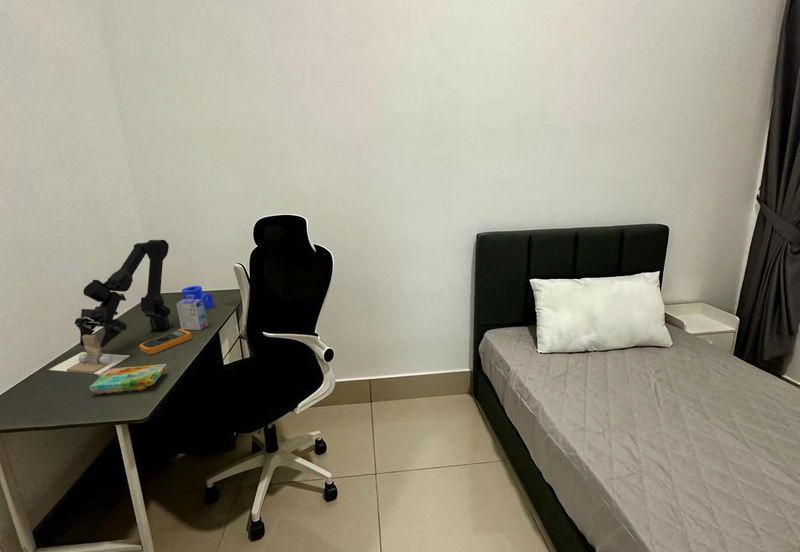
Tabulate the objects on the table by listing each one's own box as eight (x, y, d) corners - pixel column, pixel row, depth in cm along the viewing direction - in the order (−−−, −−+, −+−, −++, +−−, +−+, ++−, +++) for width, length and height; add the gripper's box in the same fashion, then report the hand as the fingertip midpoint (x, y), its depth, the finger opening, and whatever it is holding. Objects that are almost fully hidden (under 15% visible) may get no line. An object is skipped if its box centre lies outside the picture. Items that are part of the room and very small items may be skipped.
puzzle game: (106, 367, 161) (166, 361, 162) (110, 379, 162) (169, 373, 164) (88, 384, 150) (151, 378, 151) (91, 397, 151) (155, 391, 152)
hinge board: (82, 354, 183) (79, 344, 181) (130, 358, 177) (128, 347, 176) (49, 372, 170) (45, 361, 168) (100, 376, 164) (96, 365, 163)
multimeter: (138, 352, 182) (136, 344, 181) (182, 335, 196) (181, 327, 195) (148, 357, 177) (146, 349, 176) (193, 339, 191) (191, 331, 190)
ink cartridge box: (208, 325, 204) (202, 294, 199) (201, 330, 198) (194, 298, 194) (188, 324, 206) (182, 293, 201) (180, 329, 201) (173, 298, 196)
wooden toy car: (95, 360, 175) (87, 333, 171) (106, 361, 173) (98, 334, 170) (87, 364, 171) (79, 337, 168) (98, 365, 170) (90, 338, 167)
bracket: (181, 304, 233) (178, 289, 231) (198, 298, 239) (195, 284, 237) (201, 311, 221) (197, 296, 218) (218, 305, 227) (215, 291, 225)
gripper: (71, 297, 172) (52, 337, 165) (112, 299, 167) (94, 340, 161) (95, 309, 182) (78, 347, 175) (134, 311, 177) (118, 350, 170)
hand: (91, 346), depth 170 cm, fingers open, 9 cm apart
